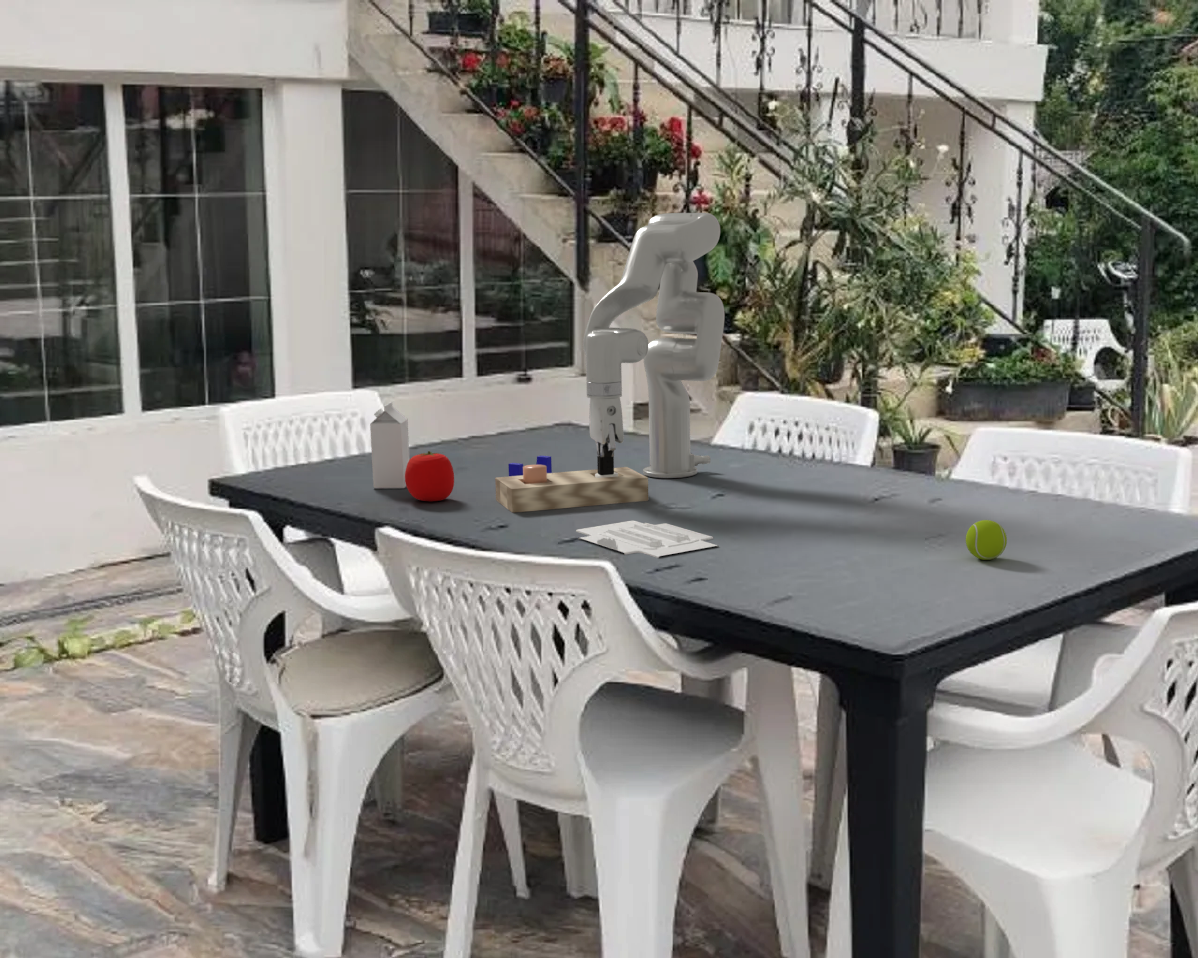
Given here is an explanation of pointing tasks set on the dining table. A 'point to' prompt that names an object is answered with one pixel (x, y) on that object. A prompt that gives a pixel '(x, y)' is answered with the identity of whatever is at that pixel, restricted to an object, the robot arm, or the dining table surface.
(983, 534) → the tennis ball
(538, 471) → the peach rounded piece
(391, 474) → the milk carton
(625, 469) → the housing
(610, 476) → the white domed cylinder
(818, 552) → the dining table surface
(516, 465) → the cable clip
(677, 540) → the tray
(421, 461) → the tomato
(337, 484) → the dining table surface
